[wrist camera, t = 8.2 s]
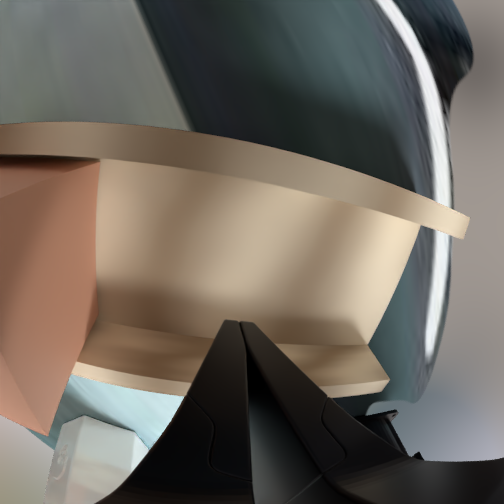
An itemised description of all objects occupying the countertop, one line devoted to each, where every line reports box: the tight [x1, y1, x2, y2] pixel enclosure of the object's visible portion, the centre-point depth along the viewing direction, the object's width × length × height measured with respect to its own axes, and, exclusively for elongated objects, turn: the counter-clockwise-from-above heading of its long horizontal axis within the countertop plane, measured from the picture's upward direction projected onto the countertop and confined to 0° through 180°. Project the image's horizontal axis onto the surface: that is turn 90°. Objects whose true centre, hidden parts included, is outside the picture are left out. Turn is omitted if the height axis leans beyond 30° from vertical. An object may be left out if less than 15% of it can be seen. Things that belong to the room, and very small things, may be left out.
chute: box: [0, 122, 470, 398], centre depth 10 cm, size 23×10×4 cm, turn 77°
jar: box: [43, 415, 149, 504], centre depth 13 cm, size 9×8×12 cm
